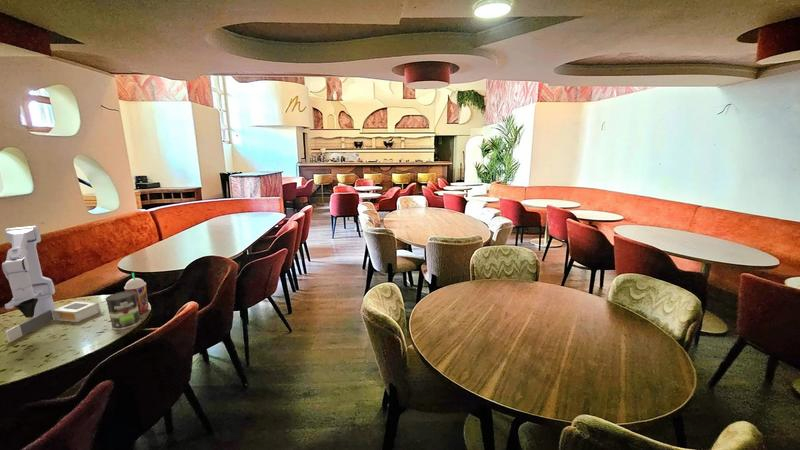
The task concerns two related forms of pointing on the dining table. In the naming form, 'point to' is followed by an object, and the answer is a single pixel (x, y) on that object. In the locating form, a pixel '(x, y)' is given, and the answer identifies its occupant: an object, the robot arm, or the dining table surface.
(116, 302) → the coffee can
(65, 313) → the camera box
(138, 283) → the smoothie
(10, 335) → the side door
